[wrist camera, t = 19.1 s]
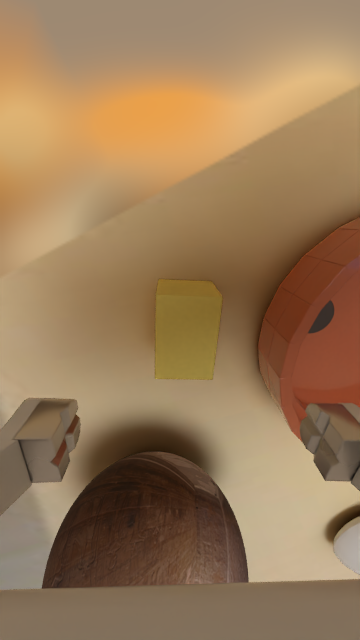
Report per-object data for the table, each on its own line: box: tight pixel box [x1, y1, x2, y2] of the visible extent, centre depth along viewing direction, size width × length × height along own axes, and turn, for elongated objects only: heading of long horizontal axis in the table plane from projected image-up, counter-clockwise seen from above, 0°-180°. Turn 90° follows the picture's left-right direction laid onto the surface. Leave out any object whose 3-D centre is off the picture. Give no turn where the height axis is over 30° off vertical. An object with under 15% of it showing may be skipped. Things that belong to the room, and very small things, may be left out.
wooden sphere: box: [42, 451, 248, 589], centre depth 19 cm, size 15×15×15 cm
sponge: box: [155, 279, 223, 380], centre depth 17 cm, size 6×4×4 cm, turn 177°
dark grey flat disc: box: [308, 300, 334, 333], centre depth 18 cm, size 3×3×1 cm
